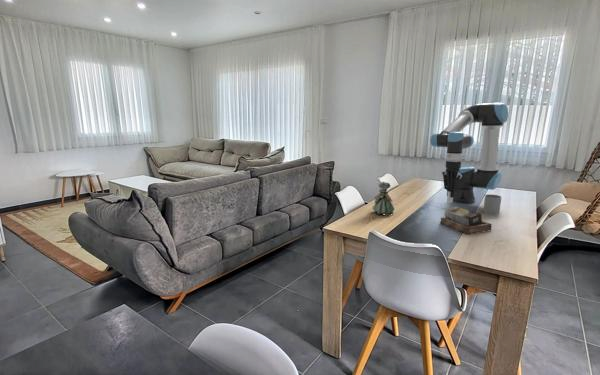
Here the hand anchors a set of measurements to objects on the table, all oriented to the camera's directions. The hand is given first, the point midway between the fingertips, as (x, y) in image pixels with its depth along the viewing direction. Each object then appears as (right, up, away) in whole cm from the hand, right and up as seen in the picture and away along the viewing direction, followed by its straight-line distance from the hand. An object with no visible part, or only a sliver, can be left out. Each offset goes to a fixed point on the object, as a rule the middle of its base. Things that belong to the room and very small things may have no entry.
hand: (449, 202), depth 178 cm
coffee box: (0, -6, 0) cm, 6 cm away
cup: (+33, -7, +15) cm, 37 cm away
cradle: (+4, -13, -8) cm, 16 cm away
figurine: (-33, -8, +18) cm, 38 cm away
